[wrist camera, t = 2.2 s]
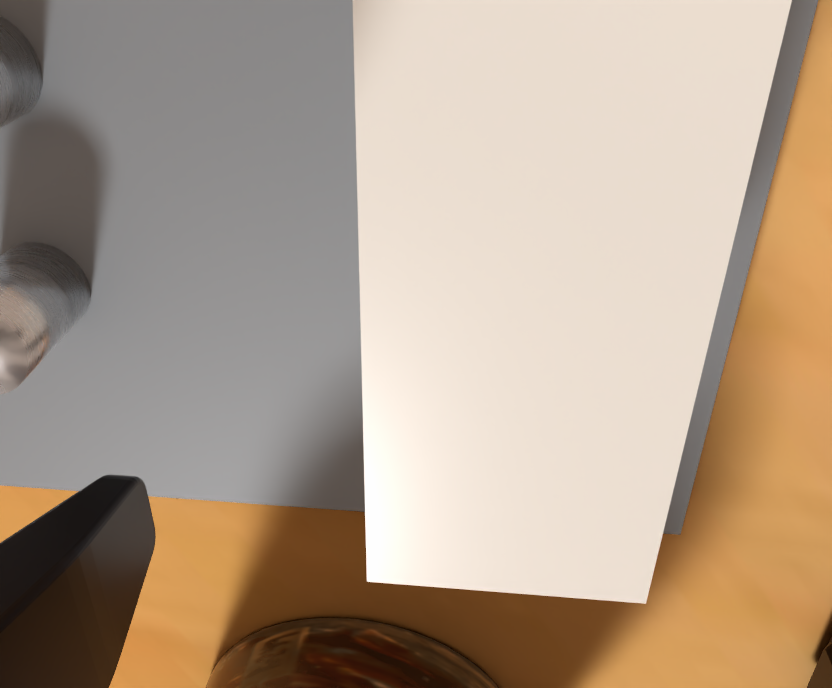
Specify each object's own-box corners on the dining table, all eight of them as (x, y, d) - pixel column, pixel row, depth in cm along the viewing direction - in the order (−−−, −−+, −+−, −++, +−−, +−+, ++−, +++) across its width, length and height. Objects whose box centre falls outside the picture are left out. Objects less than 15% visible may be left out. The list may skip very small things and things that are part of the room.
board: (868, -329, 13) (908, -350, 12) (669, 496, 22) (680, 534, 21) (-324, -331, 14) (-405, -351, 13) (-42, 446, 24) (-73, 479, 23)
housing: (685, -54, 14) (793, -7, 9) (606, 406, 19) (646, 603, 14) (403, -61, 14) (352, -19, 9) (400, 393, 20) (366, 581, 14)
